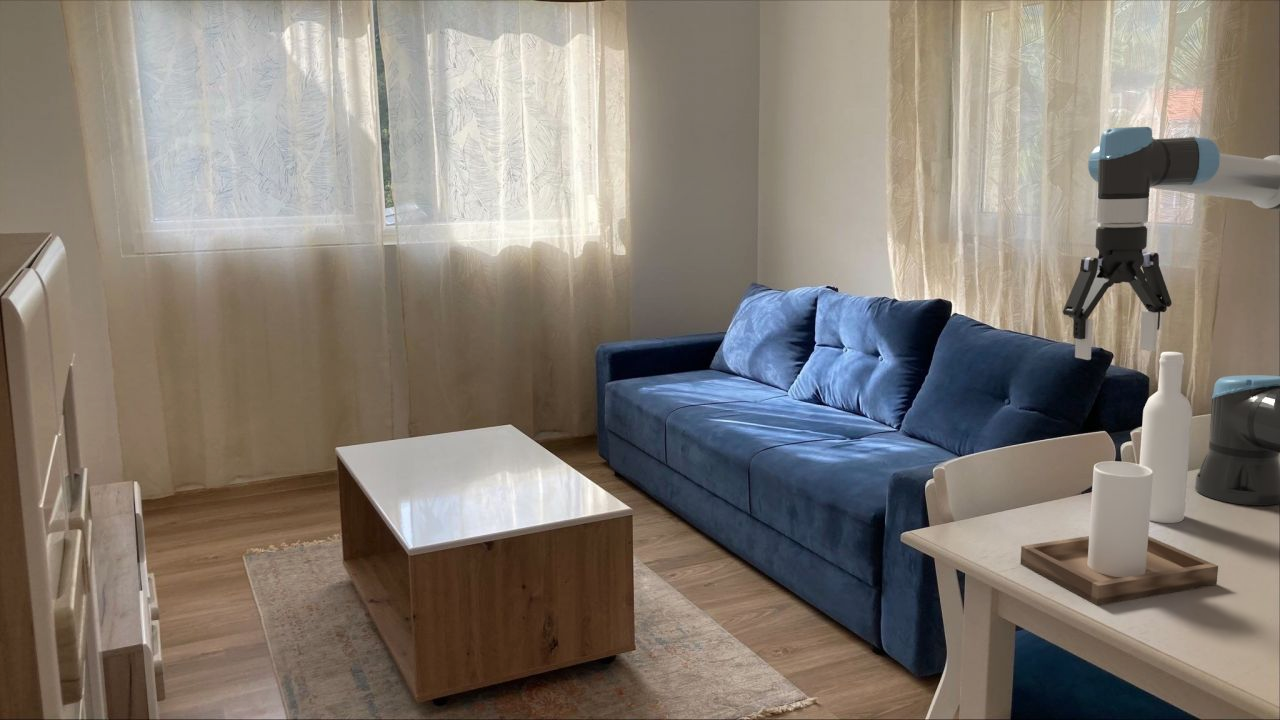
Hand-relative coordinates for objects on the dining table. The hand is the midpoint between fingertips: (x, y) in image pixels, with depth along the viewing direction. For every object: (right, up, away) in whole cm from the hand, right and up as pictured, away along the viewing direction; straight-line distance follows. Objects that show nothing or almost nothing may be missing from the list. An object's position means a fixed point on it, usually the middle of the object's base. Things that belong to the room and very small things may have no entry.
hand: (1115, 354), depth 168 cm
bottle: (+15, -29, +16) cm, 37 cm away
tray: (-5, -34, -10) cm, 36 cm away
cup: (-5, -33, -10) cm, 35 cm away
